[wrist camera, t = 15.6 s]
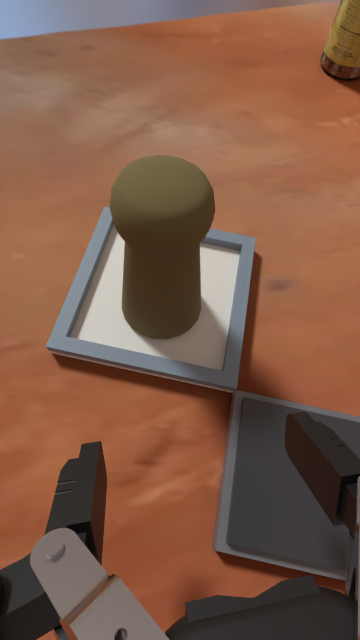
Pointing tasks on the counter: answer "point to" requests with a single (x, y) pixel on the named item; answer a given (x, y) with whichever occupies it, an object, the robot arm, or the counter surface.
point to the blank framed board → (148, 353)
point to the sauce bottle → (344, 42)
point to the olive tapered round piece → (162, 242)
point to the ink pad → (277, 490)
